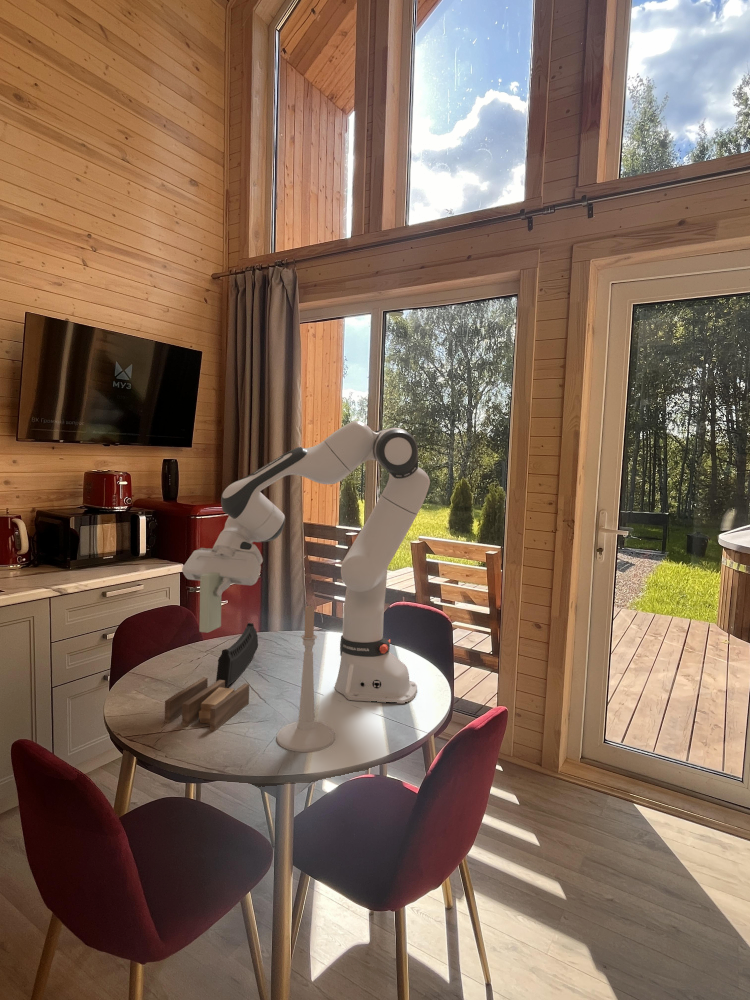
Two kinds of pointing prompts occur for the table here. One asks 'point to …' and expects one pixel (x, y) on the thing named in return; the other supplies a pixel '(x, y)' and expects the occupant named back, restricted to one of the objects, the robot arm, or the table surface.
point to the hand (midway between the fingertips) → (209, 594)
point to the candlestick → (306, 704)
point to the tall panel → (209, 602)
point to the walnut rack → (196, 693)
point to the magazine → (237, 656)
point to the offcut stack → (212, 703)
